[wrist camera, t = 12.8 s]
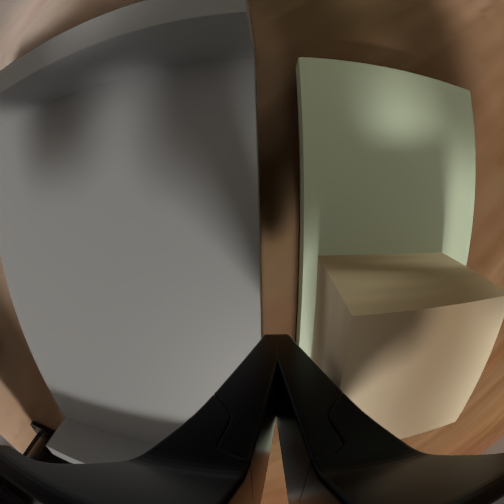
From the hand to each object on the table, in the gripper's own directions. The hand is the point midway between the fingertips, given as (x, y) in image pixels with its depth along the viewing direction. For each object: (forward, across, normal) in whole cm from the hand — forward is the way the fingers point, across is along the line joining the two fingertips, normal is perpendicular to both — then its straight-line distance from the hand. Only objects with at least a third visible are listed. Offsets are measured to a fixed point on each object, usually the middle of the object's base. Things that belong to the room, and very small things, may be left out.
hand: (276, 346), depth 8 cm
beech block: (+2, -4, 0) cm, 4 cm away
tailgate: (+3, -1, 0) cm, 3 cm away
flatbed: (+3, +7, 0) cm, 8 cm away
